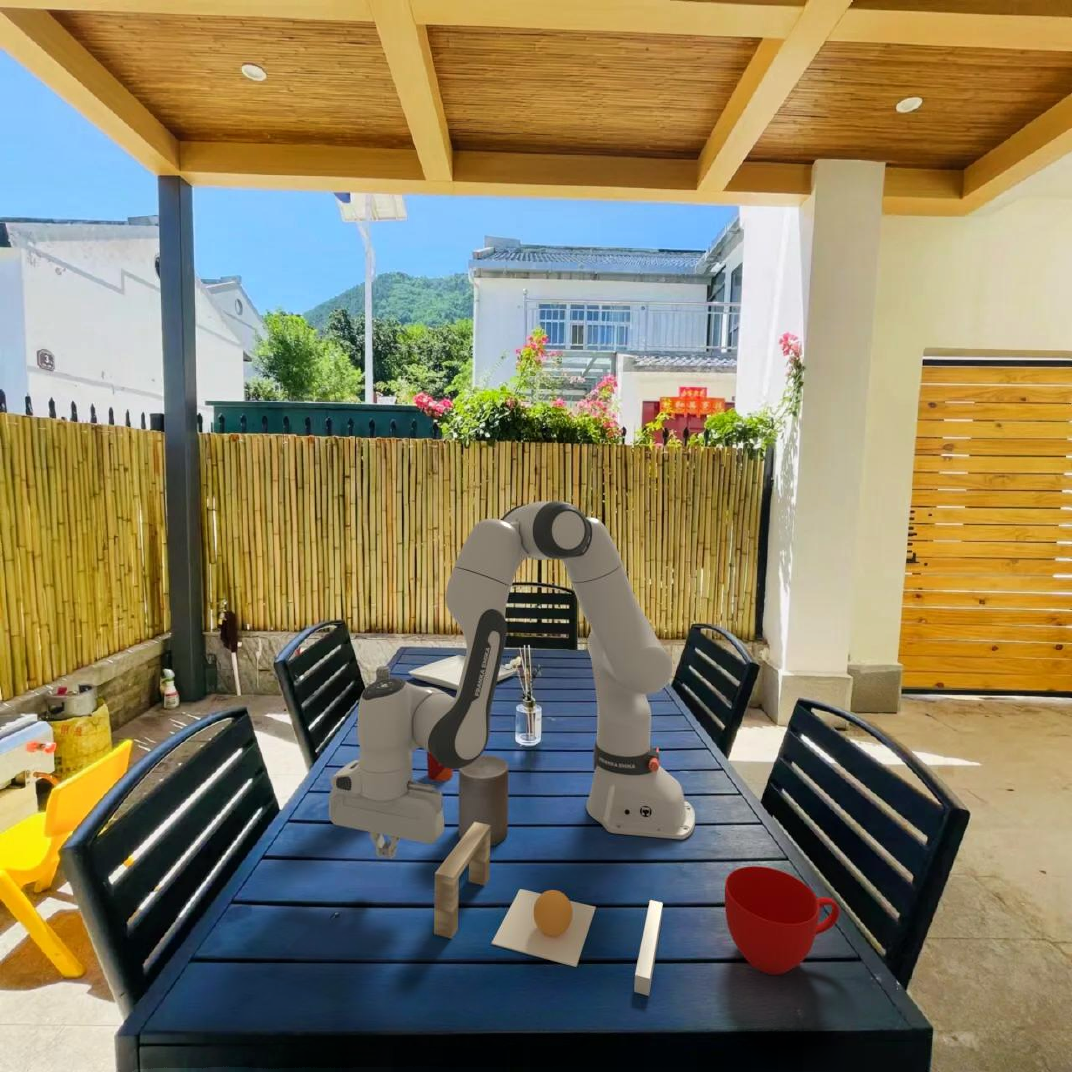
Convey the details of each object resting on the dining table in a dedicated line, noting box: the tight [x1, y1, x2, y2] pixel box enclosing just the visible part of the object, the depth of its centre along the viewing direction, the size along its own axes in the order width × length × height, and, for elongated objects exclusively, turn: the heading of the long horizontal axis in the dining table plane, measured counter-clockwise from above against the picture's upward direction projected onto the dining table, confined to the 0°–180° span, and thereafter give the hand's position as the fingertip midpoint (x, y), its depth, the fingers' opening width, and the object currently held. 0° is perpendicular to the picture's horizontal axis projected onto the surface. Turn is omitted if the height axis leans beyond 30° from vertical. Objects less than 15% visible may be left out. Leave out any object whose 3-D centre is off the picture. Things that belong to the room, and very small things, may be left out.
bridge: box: [433, 822, 491, 939], centre depth 100 cm, size 3×15×10 cm, turn 162°
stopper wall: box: [633, 899, 664, 997], centre depth 92 cm, size 2×16×2 cm, turn 162°
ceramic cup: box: [724, 865, 840, 976], centre depth 91 cm, size 13×17×10 cm
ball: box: [534, 889, 573, 936], centre depth 95 cm, size 6×6×6 cm
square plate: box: [407, 654, 518, 691], centre depth 213 cm, size 27×27×4 cm
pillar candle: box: [458, 754, 509, 847], centre depth 121 cm, size 10×10×15 cm
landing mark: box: [491, 888, 597, 968], centre depth 97 cm, size 13×13×1 cm
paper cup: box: [426, 751, 454, 782], centre depth 143 cm, size 8×8×14 cm
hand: (386, 855), depth 105 cm, fingers closed
